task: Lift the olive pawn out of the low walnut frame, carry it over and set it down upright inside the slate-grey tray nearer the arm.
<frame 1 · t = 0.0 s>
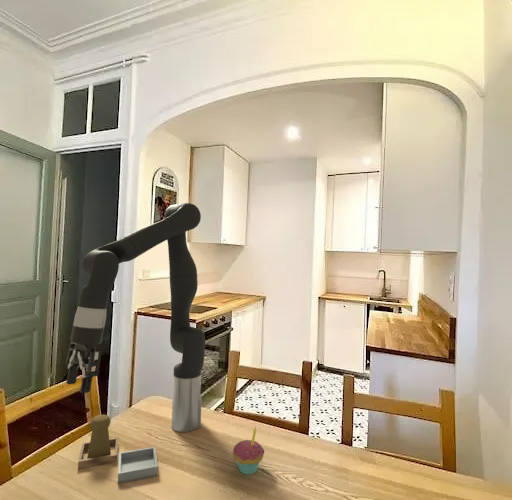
hand: (77, 387, 87), 22 cm above the table, tool pointing down, fingers open, 8 cm apart
walnut frame: (99, 455, 95), on the table
cupcake: (247, 470, 91), on the table
olive pawn: (99, 456, 95), resting in walnut frame
grey tray: (137, 468, 90), on the table
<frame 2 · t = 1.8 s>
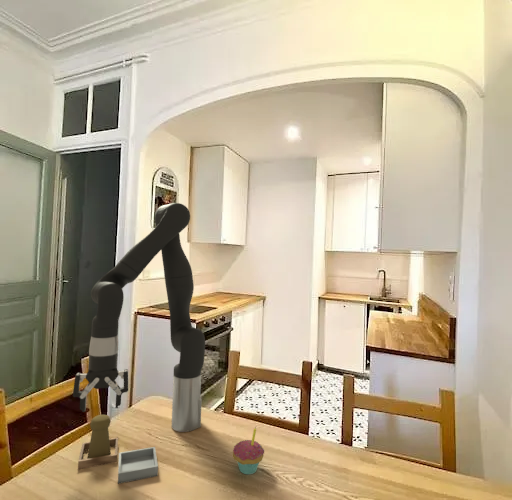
hand: (100, 408, 96), 13 cm above the table, tool pointing down, fingers open, 8 cm apart
nothing on the table moved.
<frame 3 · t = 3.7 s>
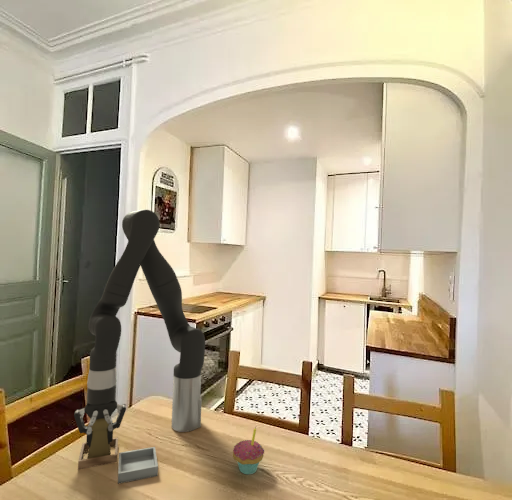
hand: (99, 444, 96), 3 cm above the table, tool pointing down, fingers closed on olive pawn, 4 cm apart
olive pawn: (99, 456, 95), resting in walnut frame, touching gripper
everything else where it was.
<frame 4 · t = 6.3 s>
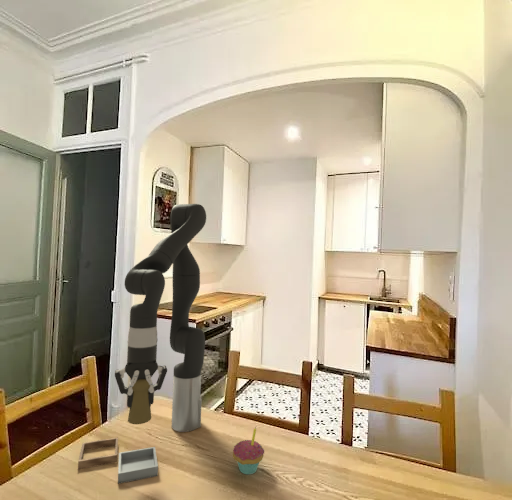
hand: (140, 406, 91), 16 cm above the table, tool pointing down, fingers closed on olive pawn, 4 cm apart
olive pawn: (139, 419, 91), point 13 cm above the table, touching gripper
everything else where it was.
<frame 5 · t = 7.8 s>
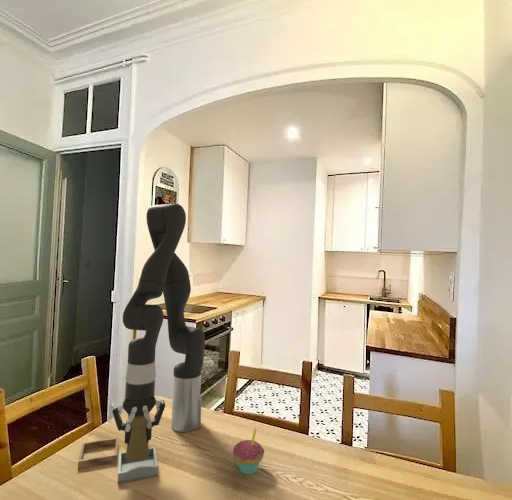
hand: (137, 442, 90), 7 cm above the table, tool pointing down, fingers closed on olive pawn, 4 cm apart
olive pawn: (137, 455, 90), point 3 cm above the table, touching gripper
everything else where it was.
when the fingers open (5 cm above the table, at t = 9.0 s): olive pawn drops 1 cm, resting on grey tray.
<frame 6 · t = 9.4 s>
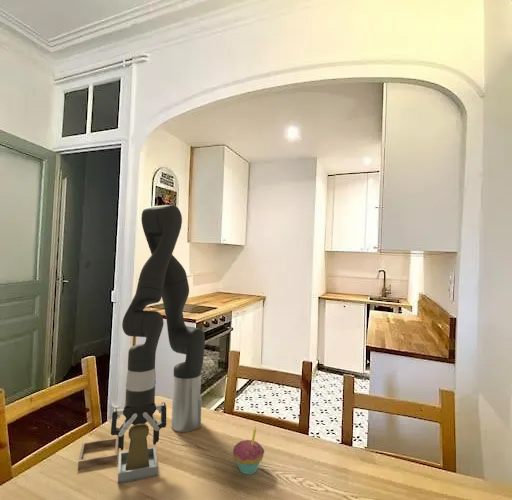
hand: (138, 446, 90), 6 cm above the table, tool pointing down, fingers open, 8 cm apart
olive pawn: (137, 467, 90), resting on grey tray
everything else where it was.
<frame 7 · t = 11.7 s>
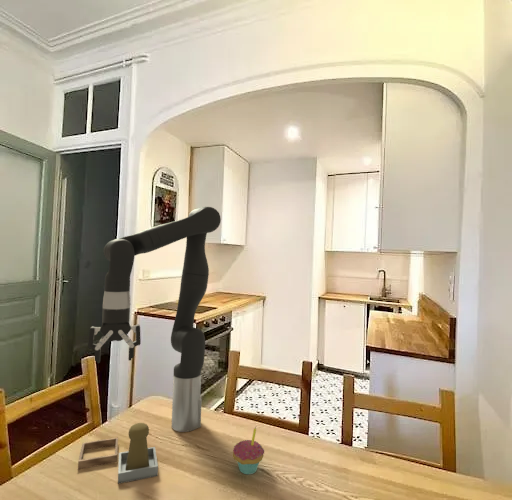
hand: (114, 361, 100), 26 cm above the table, tool pointing down, fingers open, 8 cm apart
nothing on the table moved.
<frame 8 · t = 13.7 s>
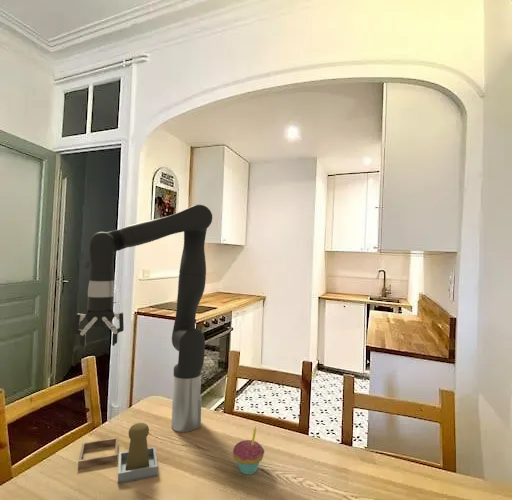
hand: (98, 346, 107), 28 cm above the table, tool pointing down, fingers open, 8 cm apart
nothing on the table moved.
at the end: olive pawn inside the target area on the grey tray (0.0 cm from its centre), point 0.3 cm above the grey tray's base; olive pawn tilted 0°; the gripper is holding nothing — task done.
